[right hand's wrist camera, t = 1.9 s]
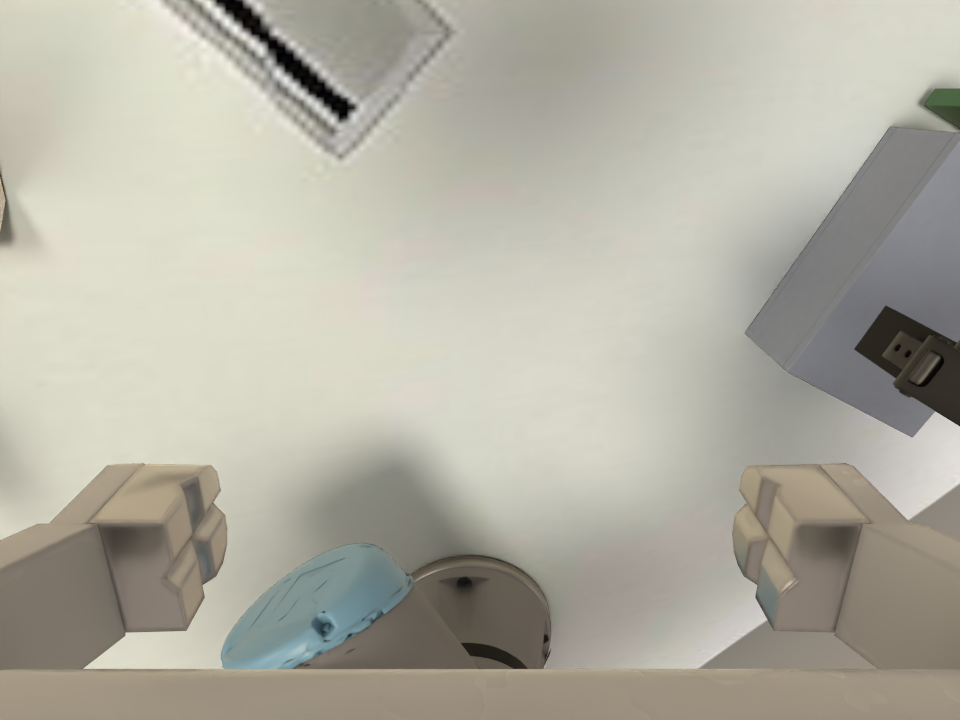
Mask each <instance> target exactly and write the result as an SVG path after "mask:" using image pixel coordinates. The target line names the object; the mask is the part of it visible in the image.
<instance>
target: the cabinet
mask: <svg viewBox="0 0 960 720" xmlns="http://www.w3.org/2000/svg"><path fill="white" fill-rule="evenodd" d="M885 305H886V306H888V307H890V308H892V309H894V310H896V311H898V312H900V313H902V314H904V315H906V316H908V317H909V318H911V319H913V320H915V321H917V322H919V323H921V324H923V325H925V326H927V327H928V328H930V329H932V330H934V331H936V332H938V333H940V334H942V335H944V336H945V337H947V338H949V339H951V340H953V341H955V342H958V341H959V340H960V133H956V132H944V131H932V130H920V129H909V128H897V127H890V128H889V129H888V131H887V132H886V134H885V135H884V136H883V138H882V139H881V141H880V142H879V144H878V145H877V146H876V148H875V149H874V151H873V152H872V153H871V155H870V156H869V158H868V159H867V161H866V162H865V163H864V165H863V166H862V168H861V169H860V171H859V172H858V173H857V175H856V176H855V178H854V179H853V180H852V182H851V183H850V185H849V186H848V188H847V189H846V190H845V192H844V193H843V195H842V196H841V198H840V199H839V200H838V202H837V203H836V205H835V206H834V207H833V209H832V210H831V212H830V213H829V215H828V216H827V217H826V219H825V220H824V222H823V223H822V224H821V226H820V227H819V229H818V230H817V232H816V233H815V234H814V236H813V237H812V239H811V240H810V242H809V243H808V244H807V246H806V247H805V249H804V250H803V251H802V253H801V254H800V256H799V257H798V259H797V260H796V261H795V263H794V264H793V266H792V267H791V269H790V270H789V271H788V273H787V274H786V276H785V277H784V278H783V280H782V281H781V283H780V284H779V286H778V287H777V288H776V290H775V291H774V293H773V294H772V296H771V297H770V298H769V300H768V301H767V303H766V304H765V305H764V307H763V308H762V310H761V311H760V313H759V314H758V315H757V317H756V318H755V320H754V321H753V322H752V324H751V325H750V327H749V328H748V330H747V331H746V332H745V334H746V335H747V336H748V337H749V338H750V339H752V340H753V341H754V342H755V343H756V344H757V345H758V346H759V347H760V348H761V349H763V350H764V351H765V352H766V353H767V354H768V355H769V356H770V357H771V358H772V359H774V360H775V361H776V362H777V363H778V364H779V365H780V366H781V367H782V368H783V369H784V370H786V371H787V372H788V373H790V374H792V375H794V376H796V377H798V378H800V379H801V380H803V381H805V382H807V383H809V384H811V385H813V386H815V387H817V388H819V389H821V390H822V391H824V392H826V393H828V394H830V395H832V396H834V397H836V398H838V399H840V400H842V401H843V402H845V403H847V404H849V405H851V406H853V407H855V408H857V409H859V410H861V411H863V412H864V413H866V414H868V415H870V416H872V417H874V418H876V419H878V420H880V421H882V422H884V423H886V424H887V425H889V426H891V427H893V428H895V429H897V430H899V431H901V432H903V433H905V434H907V435H908V436H910V437H913V436H914V435H915V434H916V433H917V432H918V430H919V429H920V428H921V427H922V426H923V425H924V423H925V422H926V421H927V420H928V419H929V418H930V416H931V415H932V414H933V413H934V412H935V411H934V410H933V409H931V408H929V407H928V406H926V405H925V404H923V403H921V402H920V401H918V400H916V399H915V398H913V397H910V398H909V397H907V396H905V395H903V394H901V393H900V392H898V391H899V390H898V389H896V388H895V387H894V385H893V382H894V381H895V380H896V378H894V377H893V376H892V375H890V374H889V373H887V372H886V371H884V370H883V369H881V368H880V367H879V366H877V365H876V364H874V363H873V362H871V361H870V360H868V359H867V358H866V357H864V356H863V355H861V354H860V353H858V352H857V351H855V350H854V348H855V347H856V346H857V344H858V343H859V341H860V340H861V339H862V337H863V336H864V335H865V333H866V332H867V330H868V329H869V328H870V326H871V325H872V323H873V322H874V321H875V319H876V318H877V317H878V315H879V314H880V312H881V311H882V310H883V308H884V307H885Z"/></svg>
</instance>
